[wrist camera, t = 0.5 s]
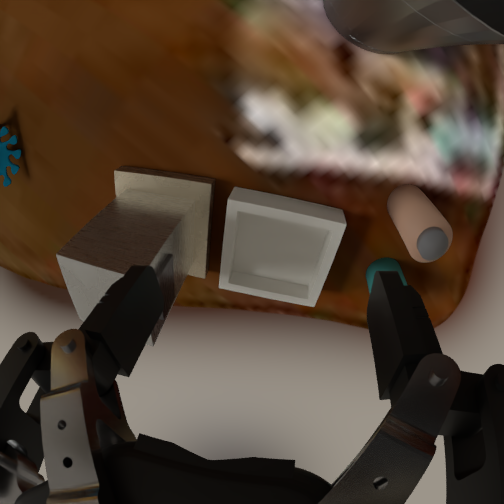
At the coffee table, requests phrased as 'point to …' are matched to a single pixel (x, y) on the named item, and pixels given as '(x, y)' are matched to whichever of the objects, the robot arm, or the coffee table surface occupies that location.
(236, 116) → the coffee table surface
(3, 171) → the gear
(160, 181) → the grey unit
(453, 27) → the robot arm
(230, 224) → the tray
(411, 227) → the beige cylinder
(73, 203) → the coffee table surface
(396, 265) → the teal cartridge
